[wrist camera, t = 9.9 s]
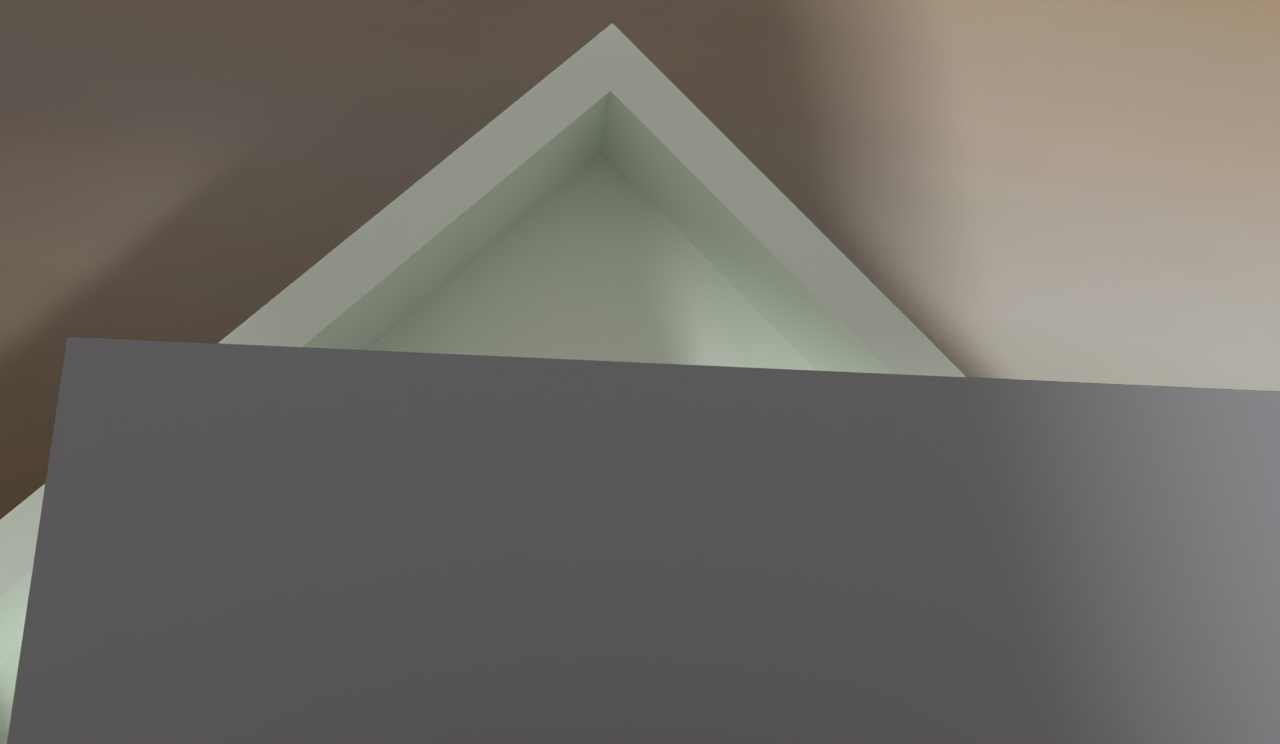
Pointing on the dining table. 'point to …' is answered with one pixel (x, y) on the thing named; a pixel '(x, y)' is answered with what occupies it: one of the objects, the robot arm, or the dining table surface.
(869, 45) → the dining table surface
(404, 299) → the tray
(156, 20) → the dining table surface
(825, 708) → the white rectangular box
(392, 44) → the dining table surface
